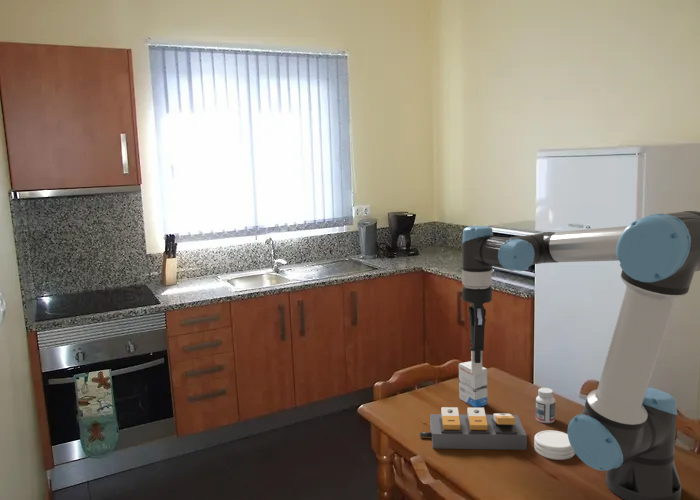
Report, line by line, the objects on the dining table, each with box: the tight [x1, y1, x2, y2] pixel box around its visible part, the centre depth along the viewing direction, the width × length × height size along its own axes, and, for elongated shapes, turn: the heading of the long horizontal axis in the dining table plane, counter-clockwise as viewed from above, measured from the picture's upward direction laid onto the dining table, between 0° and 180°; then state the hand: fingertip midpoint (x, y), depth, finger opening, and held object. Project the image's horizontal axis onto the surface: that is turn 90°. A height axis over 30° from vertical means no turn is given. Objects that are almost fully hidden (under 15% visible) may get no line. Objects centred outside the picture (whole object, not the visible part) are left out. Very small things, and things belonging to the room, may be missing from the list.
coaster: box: [533, 429, 576, 461], centre depth 149 cm, size 10×10×4 cm
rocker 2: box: [466, 407, 488, 430], centre depth 154 cm, size 7×4×2 cm, turn 175°
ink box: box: [458, 360, 488, 408], centre depth 179 cm, size 9×5×12 cm, turn 25°
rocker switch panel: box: [419, 413, 528, 451], centre depth 156 cm, size 12×27×5 cm, turn 85°
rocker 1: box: [440, 406, 460, 430], centre depth 155 cm, size 7×4×2 cm, turn 175°
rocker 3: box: [492, 413, 515, 425], centre depth 154 cm, size 7×4×2 cm, turn 175°
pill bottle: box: [535, 387, 556, 424], centre depth 166 cm, size 5×5×9 cm
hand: (476, 372), depth 154 cm, fingers closed
